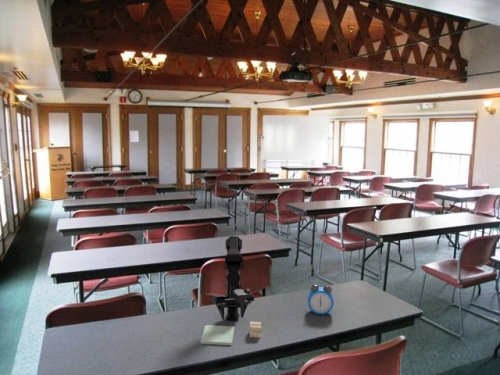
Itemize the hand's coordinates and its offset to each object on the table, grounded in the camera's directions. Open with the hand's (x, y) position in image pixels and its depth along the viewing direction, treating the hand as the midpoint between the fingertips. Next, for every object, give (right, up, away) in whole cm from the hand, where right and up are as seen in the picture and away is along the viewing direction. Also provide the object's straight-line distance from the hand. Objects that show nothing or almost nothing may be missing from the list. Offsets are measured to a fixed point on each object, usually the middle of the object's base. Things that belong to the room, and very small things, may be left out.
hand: (232, 318), depth 166 cm
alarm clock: (+44, -9, +35) cm, 57 cm away
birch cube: (+10, -11, +11) cm, 19 cm away
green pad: (-7, -11, +9) cm, 16 cm away
